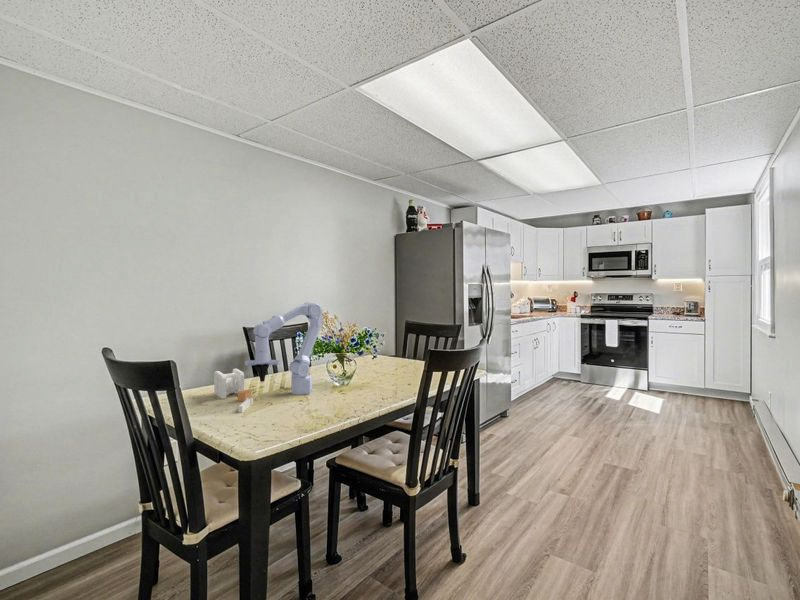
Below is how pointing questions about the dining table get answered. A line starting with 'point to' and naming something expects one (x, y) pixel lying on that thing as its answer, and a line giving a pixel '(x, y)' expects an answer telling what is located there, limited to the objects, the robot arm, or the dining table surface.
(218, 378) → the cable organizer
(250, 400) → the bar
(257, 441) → the dining table surface
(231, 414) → the dining table surface
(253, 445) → the dining table surface
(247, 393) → the plug block
